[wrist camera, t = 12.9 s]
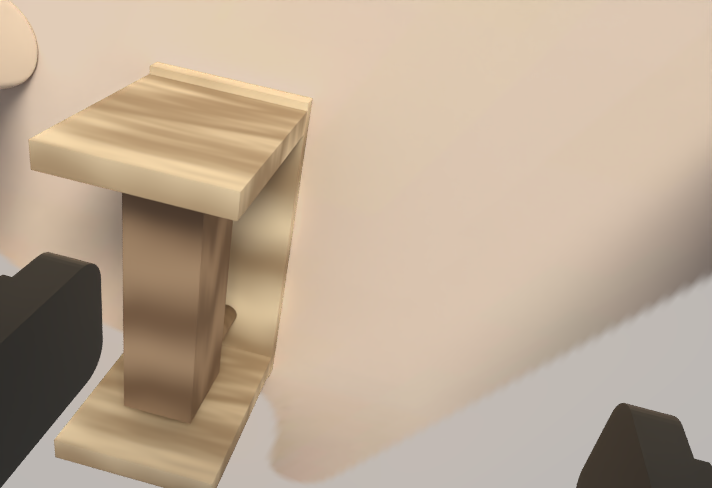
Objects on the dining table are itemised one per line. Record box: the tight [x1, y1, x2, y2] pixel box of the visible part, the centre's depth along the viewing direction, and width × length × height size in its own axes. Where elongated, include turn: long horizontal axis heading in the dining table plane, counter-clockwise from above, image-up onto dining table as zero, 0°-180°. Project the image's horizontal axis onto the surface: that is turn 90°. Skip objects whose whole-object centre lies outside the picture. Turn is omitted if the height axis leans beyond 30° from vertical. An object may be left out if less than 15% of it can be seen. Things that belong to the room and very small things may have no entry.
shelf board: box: [122, 193, 233, 424], centre depth 39 cm, size 16×4×5 cm, turn 170°
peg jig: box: [28, 62, 312, 488], centre depth 40 cm, size 22×10×13 cm, turn 169°
